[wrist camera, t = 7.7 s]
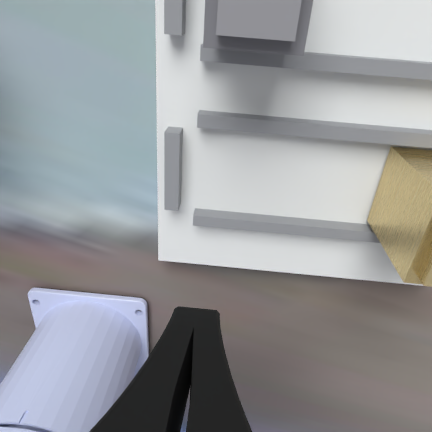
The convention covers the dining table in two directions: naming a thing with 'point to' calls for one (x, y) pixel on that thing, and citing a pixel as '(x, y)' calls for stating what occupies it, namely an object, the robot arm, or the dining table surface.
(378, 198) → the slider brass
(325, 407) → the dining table surface
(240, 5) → the slider graphite
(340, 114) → the control board
